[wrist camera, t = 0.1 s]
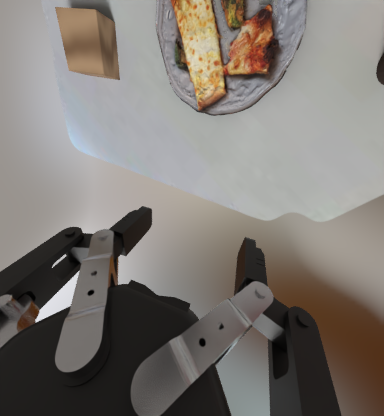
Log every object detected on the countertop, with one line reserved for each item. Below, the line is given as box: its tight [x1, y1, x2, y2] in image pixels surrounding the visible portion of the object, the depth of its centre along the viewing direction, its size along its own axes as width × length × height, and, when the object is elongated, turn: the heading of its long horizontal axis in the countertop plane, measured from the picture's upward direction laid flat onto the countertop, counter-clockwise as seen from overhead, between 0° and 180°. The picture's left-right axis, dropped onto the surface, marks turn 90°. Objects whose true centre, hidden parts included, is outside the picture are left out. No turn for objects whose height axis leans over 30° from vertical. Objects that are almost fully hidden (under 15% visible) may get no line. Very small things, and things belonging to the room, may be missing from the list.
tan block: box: [55, 7, 120, 80], centre depth 33 cm, size 9×9×5 cm
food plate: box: [155, 0, 307, 116], centre depth 26 cm, size 25×23×4 cm
